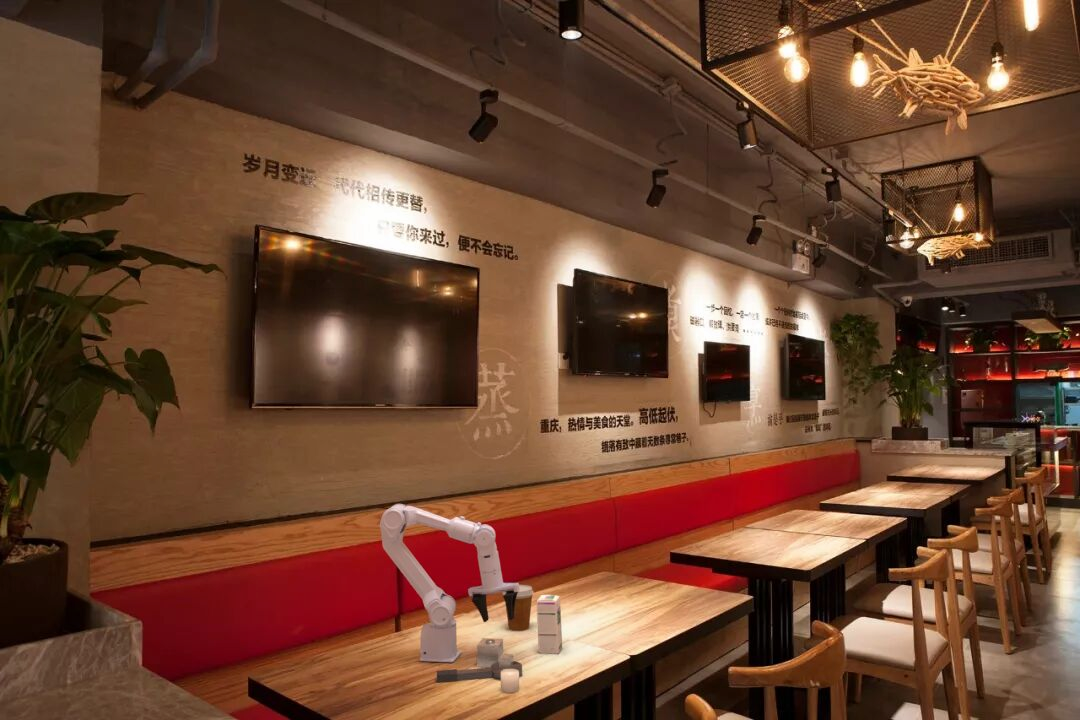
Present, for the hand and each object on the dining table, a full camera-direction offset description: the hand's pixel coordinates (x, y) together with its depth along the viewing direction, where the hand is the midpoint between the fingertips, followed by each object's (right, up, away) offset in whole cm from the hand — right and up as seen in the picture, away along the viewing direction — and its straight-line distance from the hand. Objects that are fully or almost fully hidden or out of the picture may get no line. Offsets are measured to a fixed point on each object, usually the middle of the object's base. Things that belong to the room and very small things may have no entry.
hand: (498, 619), depth 191 cm
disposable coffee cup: (+5, -12, +24) cm, 27 cm away
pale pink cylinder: (+4, -8, -24) cm, 25 cm away
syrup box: (+14, -10, +3) cm, 17 cm away
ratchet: (-4, -9, -15) cm, 18 cm away
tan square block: (-2, -9, -6) cm, 11 cm away
